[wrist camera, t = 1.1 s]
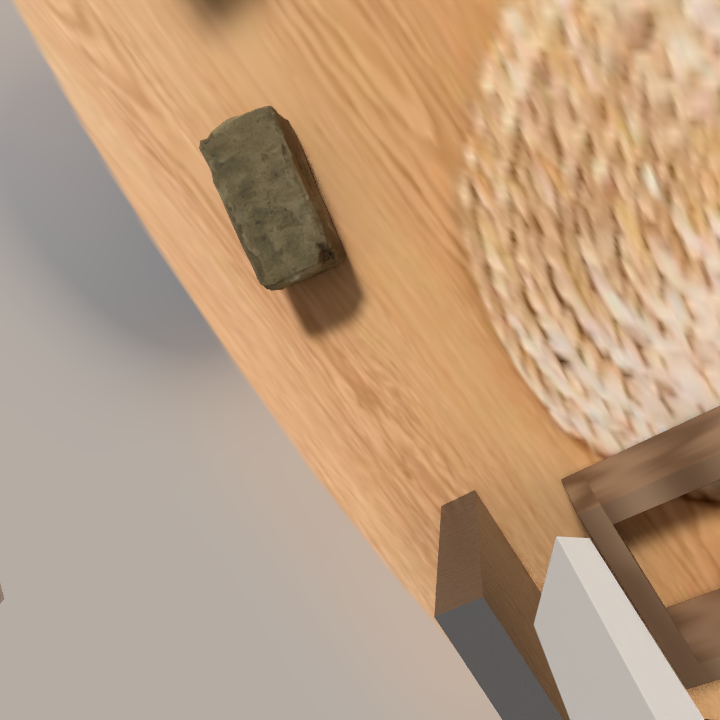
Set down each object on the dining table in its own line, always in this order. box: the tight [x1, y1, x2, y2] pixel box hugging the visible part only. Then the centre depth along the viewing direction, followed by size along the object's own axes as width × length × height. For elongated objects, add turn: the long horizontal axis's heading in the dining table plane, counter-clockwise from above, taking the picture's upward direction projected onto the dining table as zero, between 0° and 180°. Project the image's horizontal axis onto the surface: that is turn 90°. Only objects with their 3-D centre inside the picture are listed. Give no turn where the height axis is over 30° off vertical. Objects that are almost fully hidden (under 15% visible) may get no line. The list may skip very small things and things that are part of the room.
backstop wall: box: [434, 490, 570, 720], centre depth 32 cm, size 3×18×12 cm, turn 34°
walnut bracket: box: [561, 406, 720, 689], centre depth 31 cm, size 12×14×5 cm
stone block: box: [199, 106, 346, 290], centre depth 33 cm, size 6×12×5 cm, turn 25°
